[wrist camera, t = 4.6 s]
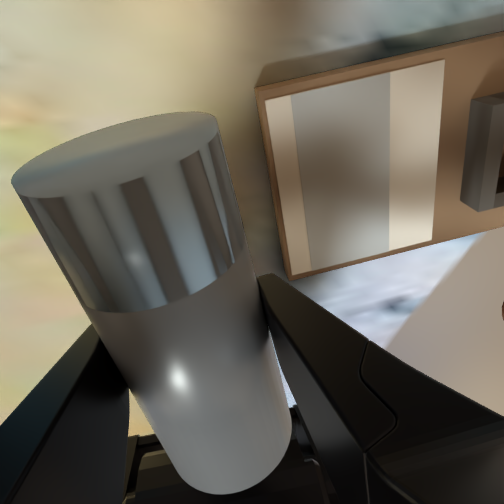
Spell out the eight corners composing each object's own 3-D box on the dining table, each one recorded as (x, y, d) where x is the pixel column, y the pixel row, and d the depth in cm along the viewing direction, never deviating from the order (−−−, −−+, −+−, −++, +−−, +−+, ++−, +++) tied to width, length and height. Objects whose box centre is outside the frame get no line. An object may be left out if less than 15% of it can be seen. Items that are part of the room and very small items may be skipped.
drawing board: (529, 209, 23) (564, 228, 21) (284, 271, 23) (296, 297, 21) (572, 15, 18) (624, 15, 16) (254, 87, 17) (265, 97, 15)
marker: (280, 386, 13) (312, 491, 10) (179, 415, 13) (183, 531, 10) (207, 100, 8) (229, 147, 5) (44, 143, 8) (-26, 214, 5)
